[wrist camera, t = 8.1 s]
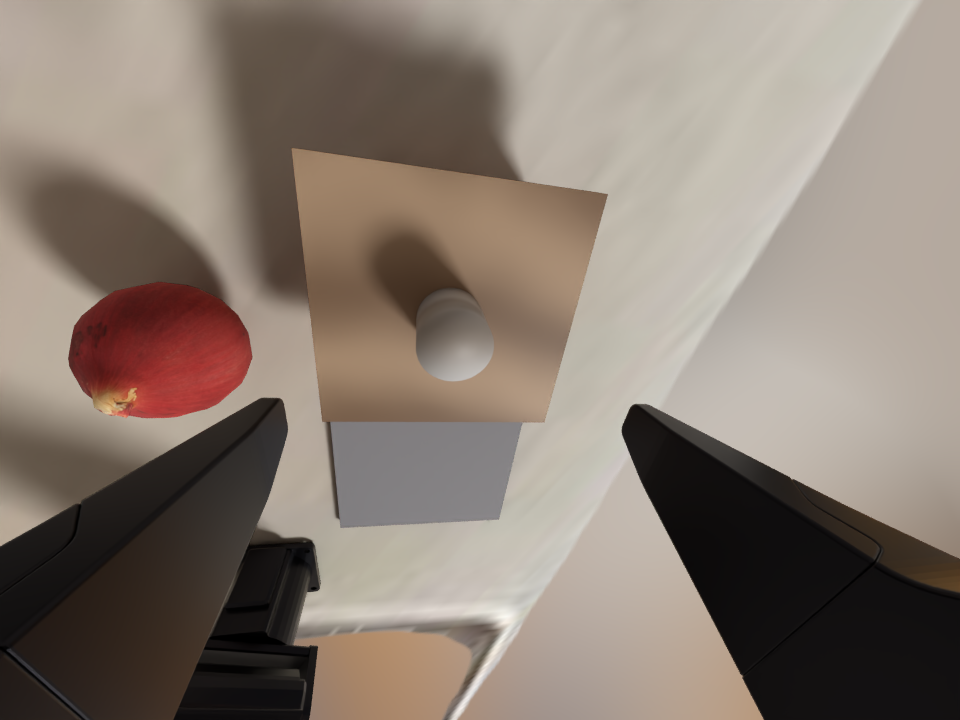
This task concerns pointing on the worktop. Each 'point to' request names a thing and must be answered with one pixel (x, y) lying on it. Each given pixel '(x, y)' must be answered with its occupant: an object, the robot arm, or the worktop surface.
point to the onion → (159, 351)
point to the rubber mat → (421, 471)
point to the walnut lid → (438, 288)
